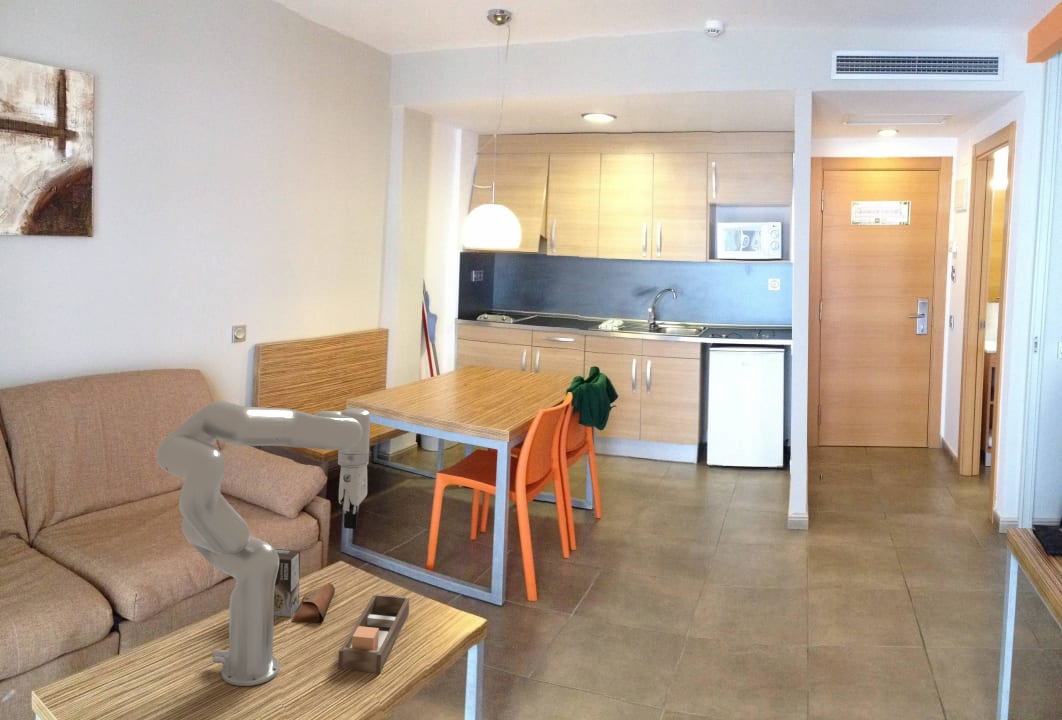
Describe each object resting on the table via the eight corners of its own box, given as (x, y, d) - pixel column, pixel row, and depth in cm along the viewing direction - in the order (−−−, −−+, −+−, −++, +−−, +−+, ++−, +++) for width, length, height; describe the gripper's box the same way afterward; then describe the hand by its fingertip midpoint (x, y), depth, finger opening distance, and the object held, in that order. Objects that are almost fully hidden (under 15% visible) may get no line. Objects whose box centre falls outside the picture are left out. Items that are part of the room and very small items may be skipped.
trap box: (338, 668, 187) (339, 648, 186) (372, 610, 216) (373, 593, 215) (380, 673, 186) (381, 653, 185) (408, 614, 216) (409, 596, 215)
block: (351, 655, 188) (352, 636, 187) (357, 645, 193) (358, 626, 192) (372, 658, 188) (373, 638, 187) (378, 647, 193) (378, 628, 192)
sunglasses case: (304, 592, 224) (317, 573, 224) (325, 605, 225) (338, 586, 225) (290, 623, 206) (304, 602, 206) (313, 636, 207) (327, 616, 207)
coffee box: (299, 607, 215) (301, 550, 213) (290, 618, 209) (292, 559, 207) (267, 603, 216) (268, 547, 214) (257, 614, 210) (258, 556, 208)
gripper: (359, 467, 192) (356, 539, 195) (375, 451, 207) (373, 518, 210) (329, 464, 193) (326, 536, 195) (347, 449, 207) (345, 516, 210)
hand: (350, 527), depth 203 cm, fingers closed
